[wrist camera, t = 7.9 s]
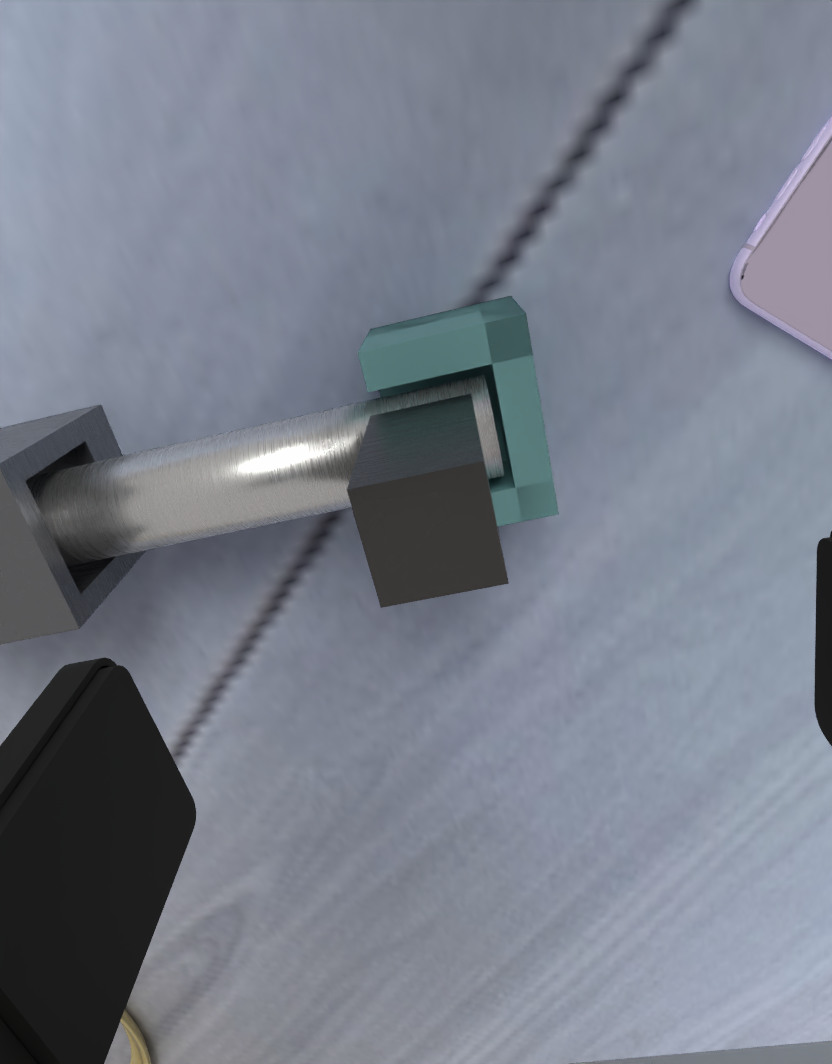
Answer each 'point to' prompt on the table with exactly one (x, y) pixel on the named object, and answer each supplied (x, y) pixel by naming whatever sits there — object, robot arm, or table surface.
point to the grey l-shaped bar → (310, 489)
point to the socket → (507, 363)
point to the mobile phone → (794, 253)
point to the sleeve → (25, 541)
